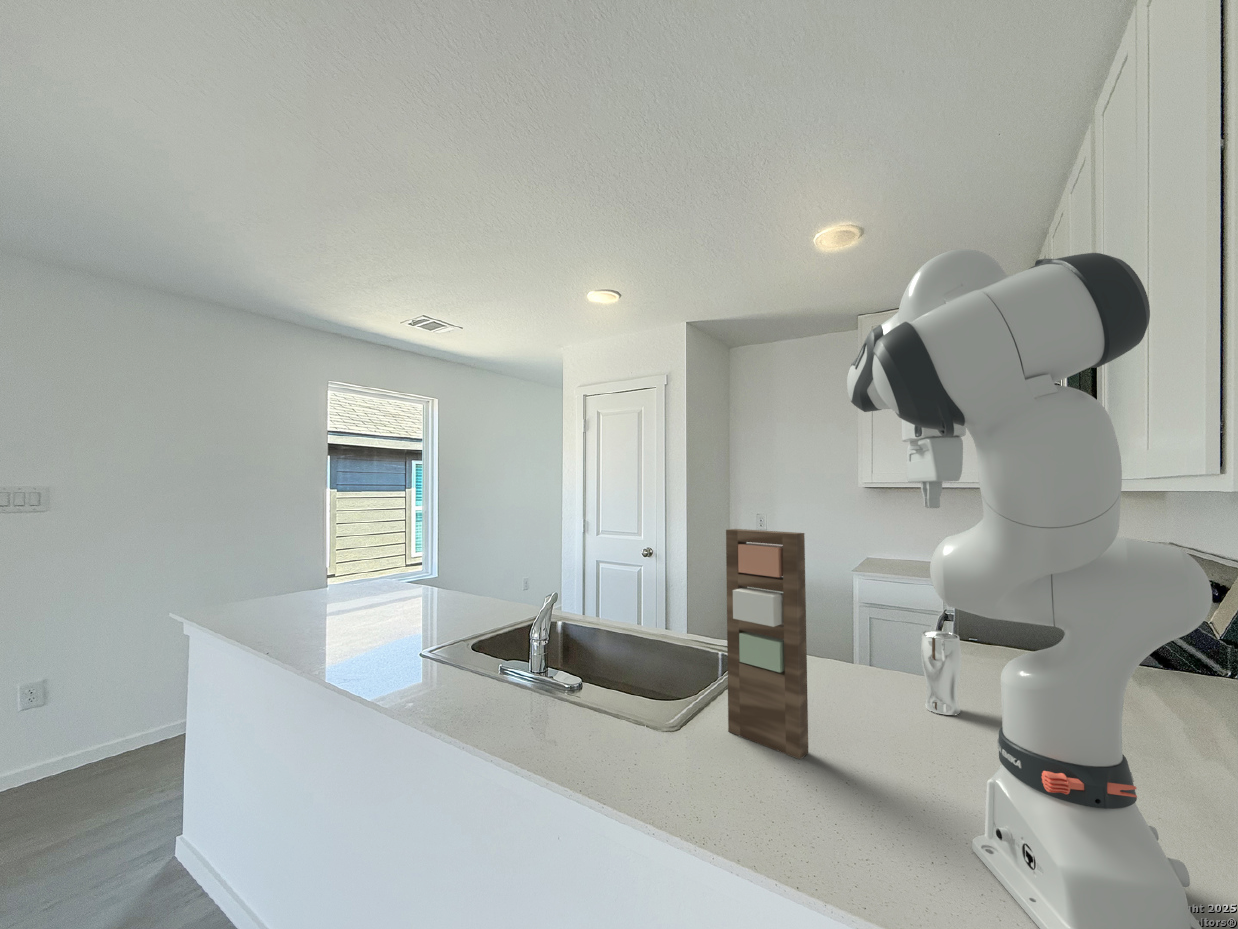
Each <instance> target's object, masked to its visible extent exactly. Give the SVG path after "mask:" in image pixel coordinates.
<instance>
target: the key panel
mask: <svg viewBox="0 0 1238 929" xmlns="http://www.w3.org/2000/svg"><path fill="white" fill-rule="evenodd" d="M805 539H806V538H805V532H796V531H795V532H792V531H776V530H762V529H761V530H759V529H747V528H746V529H743V528H730V529H729V528H728V529H727V528H726V529H725V542H726V543H725V547H726V549H725V552H726V553H725V555H726V556H725V558H726V559H725V561H726V562H725V563H726V564H725V565H726V570H725V571H726V635H727V637H726V638H727V639H726V640H727V643H726V645H727V646H726V647H727V648H726V649H727V652H726V654H727V655H726V656H727V719H728V720H727V721H728V723H727V725H728V727H727V730H728V731H727V732H729V733H731V734H734V735H737V736H739V737H741V738H744V739H747V740H749V741H752V742H754V743H757V744H759V745H762V746H764V747H767V748H769V749H772V750H775V751H777V752H780V753H783V754H785V755H788V756H790V757H793V758H796V759H797V760H801V759H802V758H804V757H806V755H808V754H809V712H808V710H809V709H808V706H809V704H808V658H807V656H808V654H807V647H808V646H807V613H806V612H807V604H806V602H807V600H806V598H807V595H806V590H807V589H806V550H805V549H806V546H805V544H806V543H805V542H806V541H805ZM746 543H757V544H770V545H782V546H783V576H782V577H772V576H764V575H756V574H749V573H741V572H738V544H746ZM744 587H746V588H753V589H759V590H766V591H773V592H779V593H783V602H784V623H783V624H780V625H777V626H775V627H772V626H767V625H762V624H757V623H752V622H748V621H743V620H738V619H733V590H736V589H740V588H744ZM745 631H747V632H752V633H756V634H761V635H766V636H770V637H775V638H779V639H784V663H785V671H782V672H776V671H772V670H769V669H765V668H761V667H758V666H754V665H750V664H746V663H743V662H740V656H739V633H742V632H745Z"/></svg>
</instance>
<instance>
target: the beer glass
mask: <svg viewBox="0 0 1238 929" xmlns="http://www.w3.org/2000/svg"><path fill="white" fill-rule="evenodd" d="M920 653H921V654H920V655H921V656H920V657H921V665H922V669H923V674H924V678H925V679H924V680H925V684H926V697H925V703H924V707H926V708H927V709H928V710H927V709H926V708H925V709H926V710H927V711H929V712H931V711H933V712H936V713H941V714H949V715H955V714H959V713H960V714H961V709H960V704H959V699H958V688H959V683H960V677H961V671H962V670H961V669H962V650H961V640H960V636H959V634H956V633H953V632H949V631H944V630H943V631H942V630H936V629H933V630H932V629H930V630H923V631H922V632H921V644H920ZM933 712H932V713H933ZM936 713H935V714H936ZM960 714H959V715H960Z"/></svg>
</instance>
